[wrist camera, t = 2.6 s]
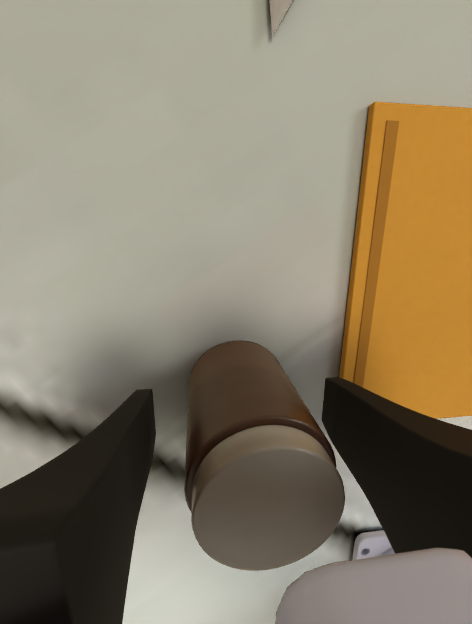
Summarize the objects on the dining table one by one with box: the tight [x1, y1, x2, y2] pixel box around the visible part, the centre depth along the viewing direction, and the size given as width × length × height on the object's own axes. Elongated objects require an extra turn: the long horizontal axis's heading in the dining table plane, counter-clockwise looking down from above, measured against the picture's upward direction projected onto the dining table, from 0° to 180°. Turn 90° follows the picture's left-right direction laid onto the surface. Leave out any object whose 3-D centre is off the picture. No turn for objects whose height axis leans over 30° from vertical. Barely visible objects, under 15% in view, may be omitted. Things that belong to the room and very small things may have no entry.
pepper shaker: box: [185, 341, 345, 571], centre depth 11 cm, size 4×4×6 cm
